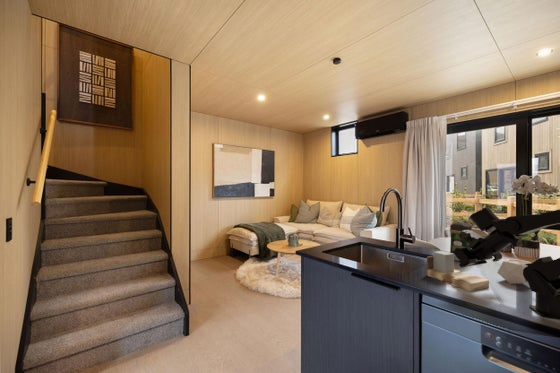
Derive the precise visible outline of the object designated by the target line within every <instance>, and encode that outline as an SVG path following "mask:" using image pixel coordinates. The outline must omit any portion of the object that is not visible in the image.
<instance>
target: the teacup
mask: <svg viewBox="0 0 560 373" xmlns="http://www.w3.org/2000/svg"><path fill="white" fill-rule="evenodd" d="M506 261H517V262H518V263H519V264H520V265H522V266H523V267H524V268H525V267H527V265H526V264H528V263H532V262H531V261H528V260H522V259H515V258H507V259H506Z"/></svg>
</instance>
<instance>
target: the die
mask: <svg viewBox="0 0 560 373" xmlns="http://www.w3.org/2000/svg"><path fill="white" fill-rule="evenodd" d="M523 269H524V267H523V266H522V265H520V264H519V263H518V262H517V261H507V260H504V261H502V263H501V265H500V266H499V269H498V270H497V272H496V273H497V274H498V275H499V276H500V277H501V278H503V279H504V280H505V281H506V282H507V283H508V284H510V285H524V284H525V282H526V279H525V278H524V276H523Z"/></svg>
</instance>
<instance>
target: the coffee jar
mask: <svg viewBox="0 0 560 373" xmlns="http://www.w3.org/2000/svg"><path fill="white" fill-rule="evenodd" d="M449 229H450V230H449V231H450V246H449V247H450V250H449V251H450V252H449V253H453V250H454V249H455V248H457V247H466V248H467V249H468V250H470V249H472V248H470V247H469V246H468V245H469V243H467V242H465V241H463V240H461V239H460V238H459V233H460V232H461V231H463V230H471V231H473V229H472V225H471V224H470V223H469V222H464V221H463V222H462V221H460V222H455V223H451V224H450V228H449ZM453 254H454V253H453ZM454 262H458V263H461V262H460V260H459V259H458V258H457V257H456V255H455V254H454Z"/></svg>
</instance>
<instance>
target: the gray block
mask: <svg viewBox="0 0 560 373" xmlns="http://www.w3.org/2000/svg"><path fill="white" fill-rule="evenodd" d="M432 256H433V269H435V270H438V271H441V272H444V273H448V272H454V269H455V261H454V254H453V253H450V252H447V251H444V250H438V251H433V255H432Z"/></svg>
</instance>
